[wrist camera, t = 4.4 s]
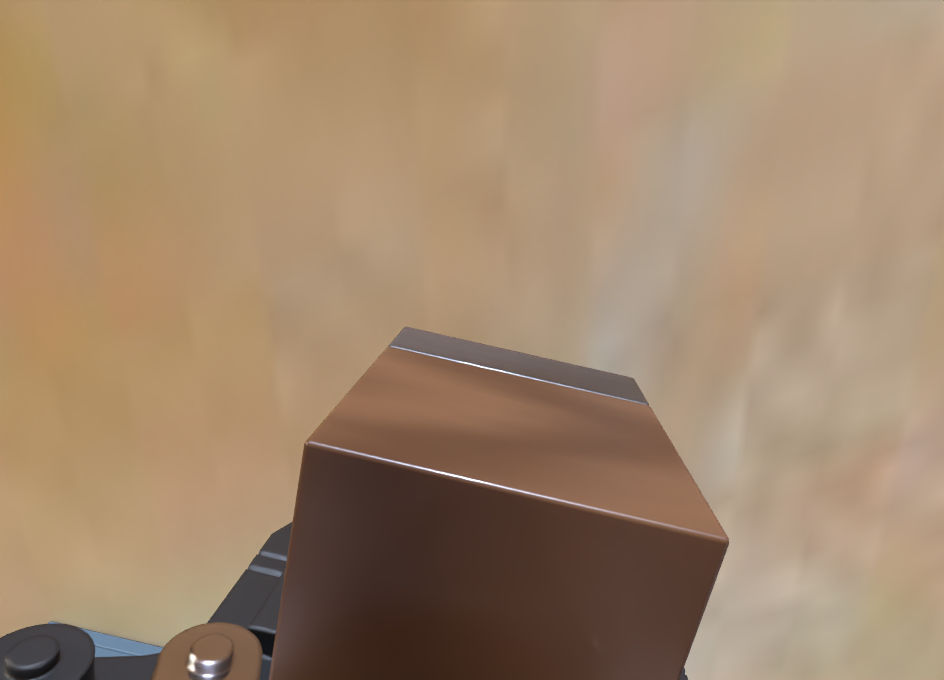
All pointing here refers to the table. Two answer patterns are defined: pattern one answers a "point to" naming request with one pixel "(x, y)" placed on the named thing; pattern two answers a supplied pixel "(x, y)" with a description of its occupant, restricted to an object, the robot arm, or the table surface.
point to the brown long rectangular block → (492, 527)
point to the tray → (118, 645)
